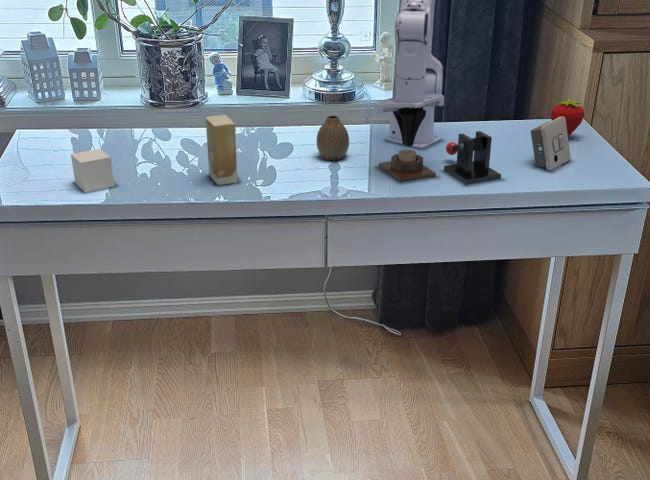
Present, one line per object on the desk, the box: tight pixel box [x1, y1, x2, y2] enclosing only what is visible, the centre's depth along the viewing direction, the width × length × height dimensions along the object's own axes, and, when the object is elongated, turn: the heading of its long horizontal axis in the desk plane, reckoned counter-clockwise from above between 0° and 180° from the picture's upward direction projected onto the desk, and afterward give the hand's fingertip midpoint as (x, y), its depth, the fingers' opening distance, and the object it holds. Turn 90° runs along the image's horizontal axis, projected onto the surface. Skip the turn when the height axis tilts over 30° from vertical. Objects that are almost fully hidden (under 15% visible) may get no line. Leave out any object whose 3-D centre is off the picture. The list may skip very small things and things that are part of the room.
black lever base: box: [443, 130, 502, 186], centre depth 181 cm, size 9×8×8 cm
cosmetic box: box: [205, 114, 239, 186], centre depth 178 cm, size 6×4×12 cm
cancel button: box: [397, 148, 417, 162], centre depth 183 cm, size 4×4×2 cm
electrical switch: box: [530, 117, 571, 171], centre depth 187 cm, size 9×5×9 cm, turn 141°
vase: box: [316, 114, 350, 161], centre depth 190 cm, size 7×7×9 cm
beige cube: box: [70, 148, 115, 193], centre depth 177 cm, size 6×6×6 cm
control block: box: [378, 153, 437, 183], centre depth 184 cm, size 10×8×3 cm
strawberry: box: [549, 92, 585, 138], centre depth 201 cm, size 6×8×10 cm
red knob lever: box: [445, 137, 483, 156], centre depth 184 cm, size 12×3×3 cm, turn 24°
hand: (407, 144), depth 181 cm, fingers closed
